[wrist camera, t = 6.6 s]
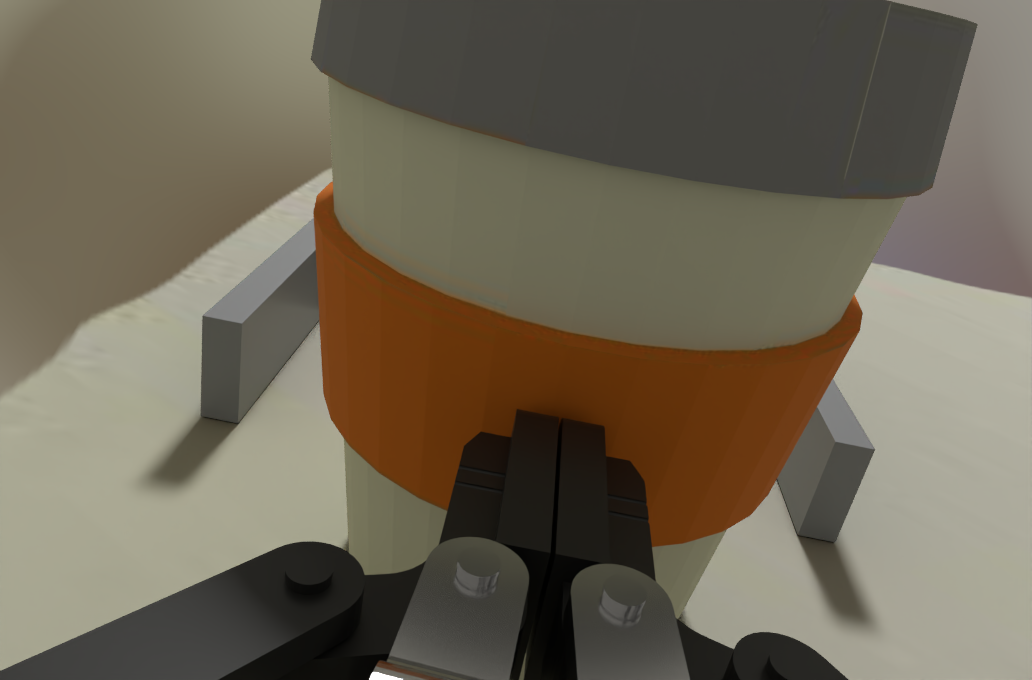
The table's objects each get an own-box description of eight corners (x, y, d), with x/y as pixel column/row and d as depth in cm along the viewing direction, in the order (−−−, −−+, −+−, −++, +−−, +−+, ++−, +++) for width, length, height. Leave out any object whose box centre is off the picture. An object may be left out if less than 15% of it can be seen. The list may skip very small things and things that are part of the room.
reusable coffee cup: (455, 394, 30) (530, -54, 24) (792, 550, 25) (1000, 35, 19) (162, 572, 20) (159, -139, 13) (638, 897, 15) (987, 9, 8)
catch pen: (834, 542, 26) (875, 449, 24) (200, 416, 26) (202, 315, 24) (752, 350, 39) (775, 282, 37) (332, 266, 39) (338, 196, 37)
